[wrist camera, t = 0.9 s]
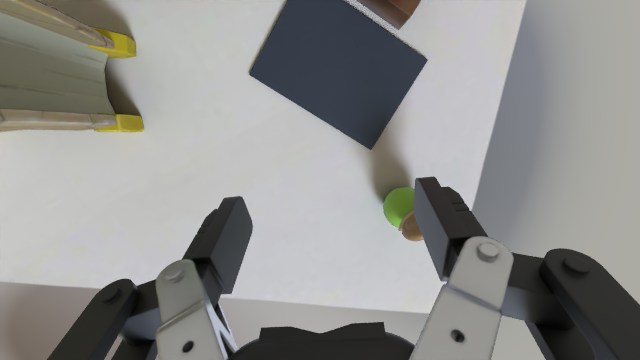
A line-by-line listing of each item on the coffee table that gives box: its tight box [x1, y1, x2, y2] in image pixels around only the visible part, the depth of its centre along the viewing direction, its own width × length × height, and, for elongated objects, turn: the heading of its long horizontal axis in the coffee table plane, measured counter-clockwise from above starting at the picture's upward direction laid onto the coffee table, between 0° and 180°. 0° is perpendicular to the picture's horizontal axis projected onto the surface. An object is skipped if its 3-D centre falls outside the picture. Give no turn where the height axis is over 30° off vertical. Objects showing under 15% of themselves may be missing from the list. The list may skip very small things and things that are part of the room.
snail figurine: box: [383, 187, 424, 241], centre depth 30 cm, size 5×6×12 cm
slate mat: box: [249, 0, 427, 150], centre depth 32 cm, size 18×13×1 cm
